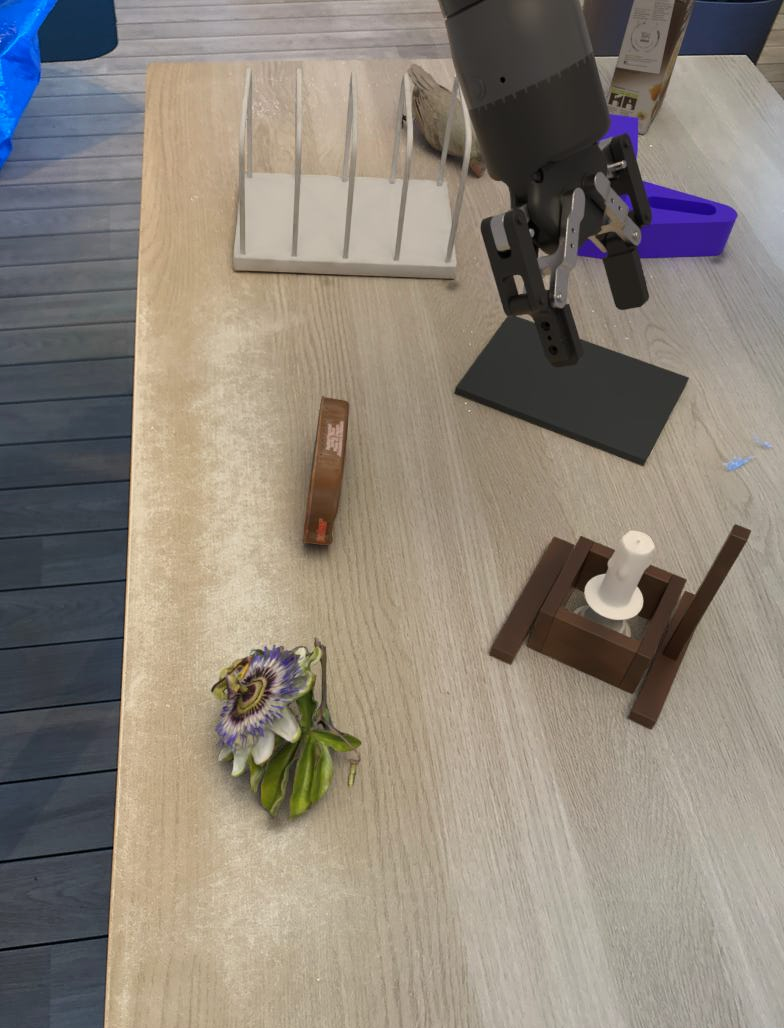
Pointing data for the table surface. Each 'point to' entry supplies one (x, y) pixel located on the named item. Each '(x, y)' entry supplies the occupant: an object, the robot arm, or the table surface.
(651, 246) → the bracket
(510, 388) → the mat
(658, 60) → the coffee box
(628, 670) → the brown wooden stand
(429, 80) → the decorative bird
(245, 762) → the passion flower
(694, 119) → the table surface
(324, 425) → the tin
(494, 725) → the table surface
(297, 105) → the file sorter
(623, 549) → the candle
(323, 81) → the table surface
